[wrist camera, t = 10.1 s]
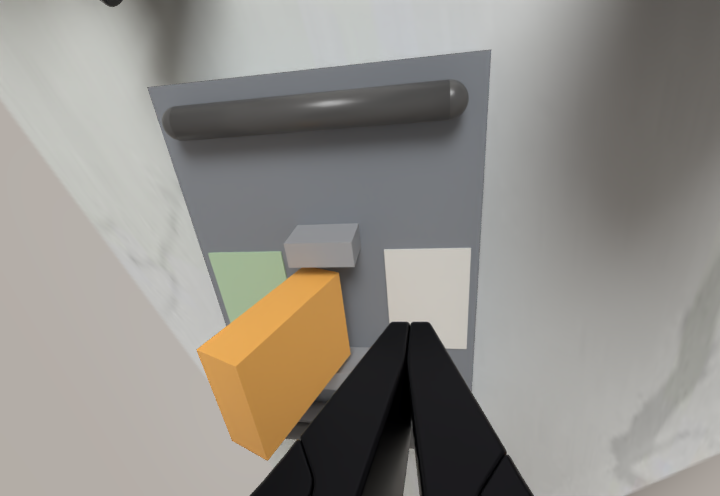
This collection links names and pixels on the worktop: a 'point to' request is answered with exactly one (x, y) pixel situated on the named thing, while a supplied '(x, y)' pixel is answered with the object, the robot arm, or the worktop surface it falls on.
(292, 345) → the lever
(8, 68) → the worktop surface
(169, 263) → the worktop surface
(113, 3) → the valve
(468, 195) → the panel
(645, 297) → the worktop surface
